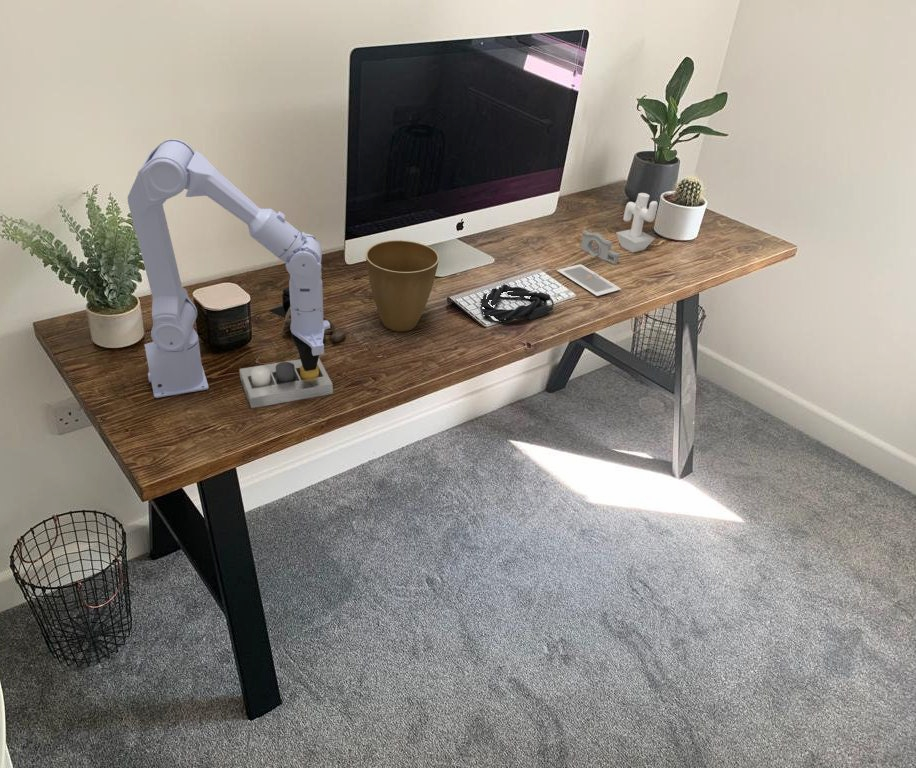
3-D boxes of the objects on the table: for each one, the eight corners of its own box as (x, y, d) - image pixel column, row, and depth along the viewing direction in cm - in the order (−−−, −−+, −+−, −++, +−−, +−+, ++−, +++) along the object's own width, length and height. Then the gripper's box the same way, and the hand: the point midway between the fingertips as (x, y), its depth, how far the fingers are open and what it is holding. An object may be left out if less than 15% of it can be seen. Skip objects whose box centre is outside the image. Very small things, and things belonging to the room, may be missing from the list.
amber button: (303, 388, 150) (302, 374, 148) (298, 378, 152) (298, 365, 151) (321, 384, 151) (320, 371, 149) (316, 375, 154) (315, 362, 152)
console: (251, 408, 144) (250, 398, 142) (240, 378, 151) (239, 368, 150) (332, 393, 149) (332, 383, 148) (318, 365, 157) (318, 356, 155)
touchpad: (596, 300, 189) (597, 291, 188) (555, 274, 199) (557, 266, 198) (620, 293, 193) (622, 285, 191) (580, 268, 203) (581, 260, 201)
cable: (501, 333, 172) (503, 315, 170) (461, 306, 181) (462, 289, 179) (559, 313, 182) (561, 296, 179) (518, 289, 190) (520, 272, 188)
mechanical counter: (308, 292, 170) (272, 299, 162) (353, 307, 164) (319, 314, 156) (306, 325, 173) (271, 333, 165) (351, 340, 166) (317, 349, 158)
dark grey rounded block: (278, 386, 148) (277, 373, 146) (274, 377, 150) (273, 363, 148) (297, 383, 149) (296, 370, 147) (292, 374, 151) (291, 360, 150)
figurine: (630, 239, 219) (640, 185, 211) (655, 252, 213) (667, 198, 204) (610, 243, 215) (620, 189, 207) (635, 257, 209) (646, 202, 201)
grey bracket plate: (618, 264, 205) (622, 242, 202) (614, 266, 204) (618, 244, 201) (582, 247, 212) (586, 226, 209) (578, 249, 211) (581, 228, 208)
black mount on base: (303, 292, 182) (303, 273, 180) (329, 303, 179) (329, 284, 176) (260, 314, 173) (259, 293, 170) (287, 326, 170) (285, 305, 167)
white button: (254, 391, 146) (252, 377, 144) (250, 381, 148) (249, 367, 147) (272, 387, 147) (271, 374, 145) (268, 378, 150) (267, 364, 148)
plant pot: (353, 330, 169) (352, 261, 160) (384, 301, 180) (385, 234, 171) (418, 347, 165) (421, 277, 156) (445, 316, 176) (450, 249, 167)
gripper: (340, 320, 139) (341, 385, 146) (317, 283, 149) (320, 345, 157) (299, 326, 136) (303, 392, 144) (280, 288, 147) (284, 351, 154)
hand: (309, 368), depth 150 cm, fingers closed, pressing on amber button
